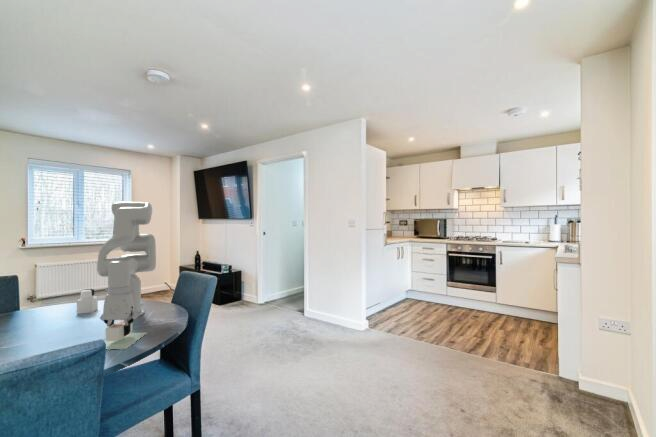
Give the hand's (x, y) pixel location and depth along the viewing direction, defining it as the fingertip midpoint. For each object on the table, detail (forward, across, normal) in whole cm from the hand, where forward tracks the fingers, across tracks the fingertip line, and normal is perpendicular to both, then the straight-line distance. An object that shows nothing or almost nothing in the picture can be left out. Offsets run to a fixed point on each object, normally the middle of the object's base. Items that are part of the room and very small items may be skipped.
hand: (119, 334), depth 128 cm
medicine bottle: (+3, -42, +46) cm, 62 cm away
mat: (+3, 0, 0) cm, 3 cm away
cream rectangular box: (+1, 0, 0) cm, 1 cm away
